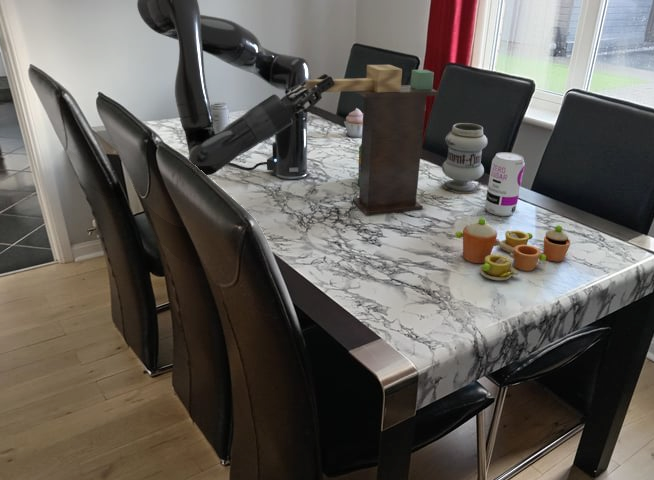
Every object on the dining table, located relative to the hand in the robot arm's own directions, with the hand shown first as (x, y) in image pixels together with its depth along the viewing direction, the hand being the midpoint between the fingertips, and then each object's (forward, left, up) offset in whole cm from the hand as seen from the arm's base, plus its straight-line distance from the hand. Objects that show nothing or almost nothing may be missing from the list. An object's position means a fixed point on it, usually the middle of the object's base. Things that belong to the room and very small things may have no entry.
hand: (330, 78), depth 132 cm
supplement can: (+42, +20, -33) cm, 57 cm away
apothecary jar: (+29, +34, -33) cm, 55 cm away
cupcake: (-17, +75, -33) cm, 83 cm away
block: (+18, +15, -3) cm, 24 cm away
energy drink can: (-50, +35, -33) cm, 69 cm away
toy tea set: (+48, -9, -33) cm, 59 cm away
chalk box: (+5, +27, -33) cm, 43 cm away
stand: (+13, +11, -33) cm, 37 cm away
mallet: (+4, +3, -3) cm, 6 cm away
